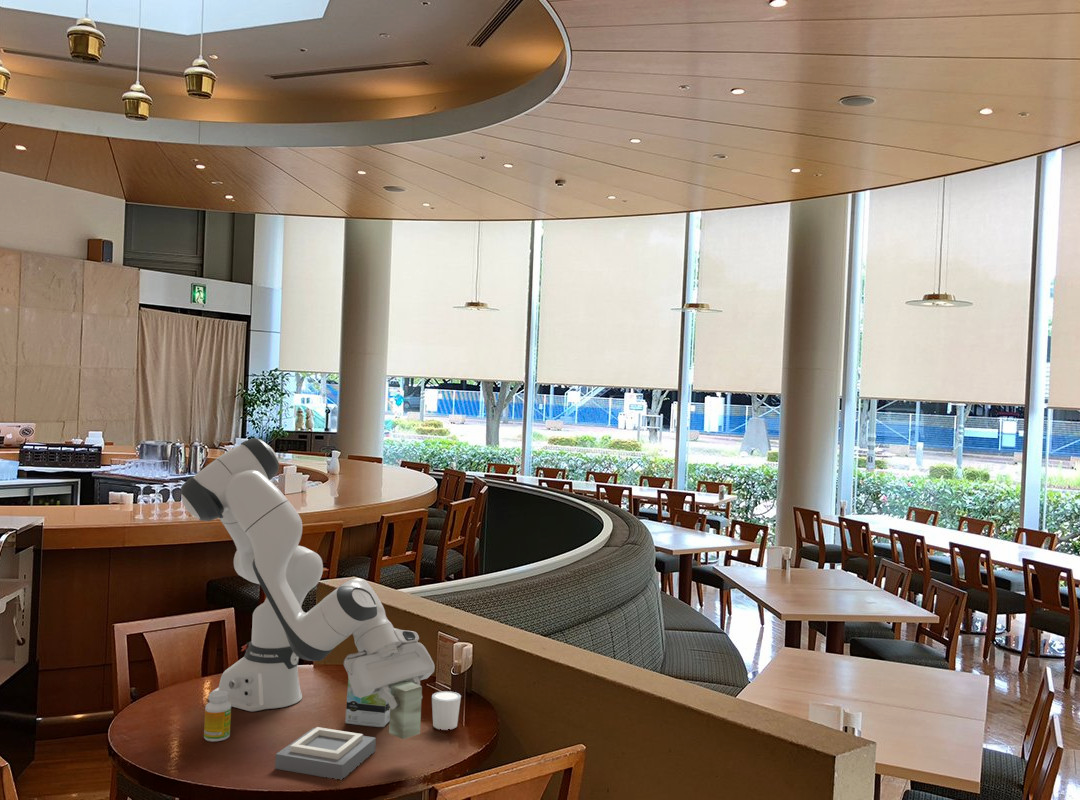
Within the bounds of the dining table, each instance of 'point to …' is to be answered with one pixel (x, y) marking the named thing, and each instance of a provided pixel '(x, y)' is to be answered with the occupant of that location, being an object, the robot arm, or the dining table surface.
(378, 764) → the dining table surface
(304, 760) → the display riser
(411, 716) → the green block
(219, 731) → the supplement bottle
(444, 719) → the white cup
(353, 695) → the tea box
